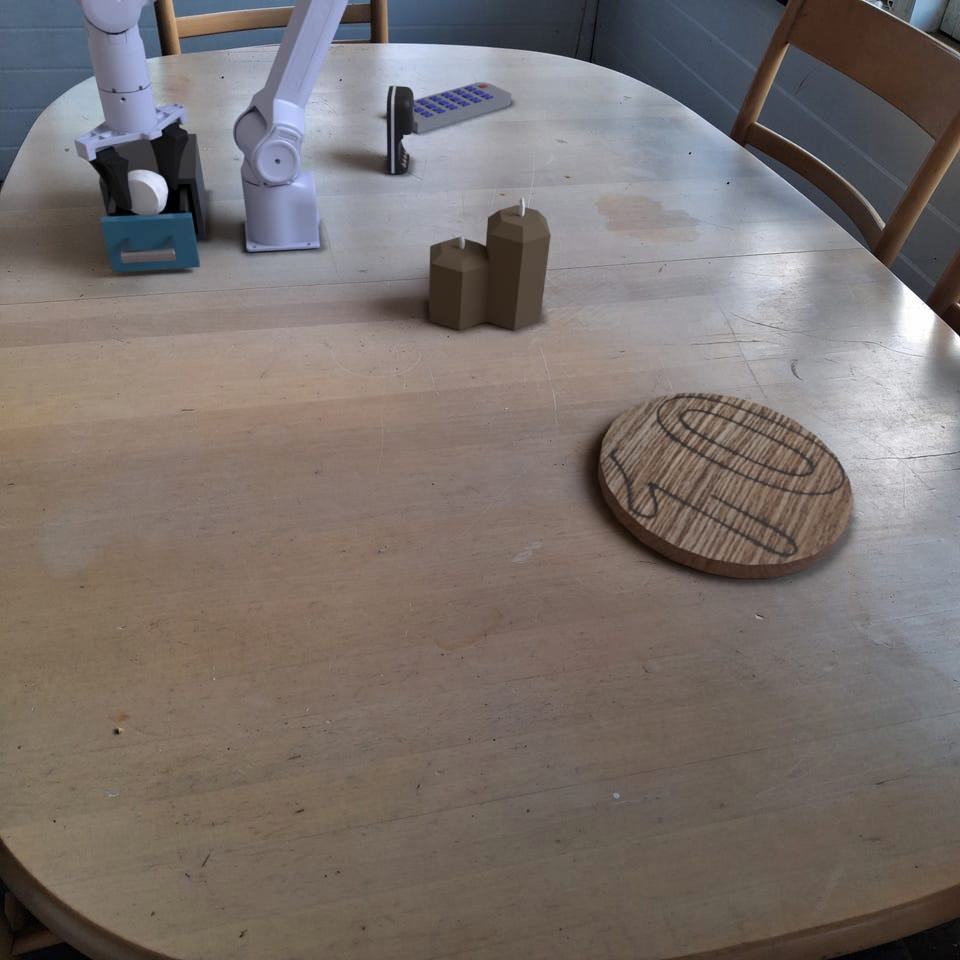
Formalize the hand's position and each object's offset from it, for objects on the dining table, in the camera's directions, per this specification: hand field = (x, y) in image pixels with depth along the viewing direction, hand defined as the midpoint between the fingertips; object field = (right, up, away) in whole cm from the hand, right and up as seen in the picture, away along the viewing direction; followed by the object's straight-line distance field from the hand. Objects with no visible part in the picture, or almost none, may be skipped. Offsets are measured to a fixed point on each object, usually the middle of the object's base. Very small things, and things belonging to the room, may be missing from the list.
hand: (147, 197), depth 111 cm
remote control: (+36, +29, +45) cm, 65 cm away
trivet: (+65, -35, -19) cm, 77 cm away
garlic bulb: (0, -1, +1) cm, 2 cm away
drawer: (0, -6, +4) cm, 7 cm away
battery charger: (+29, +14, +29) cm, 43 cm away
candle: (+42, -13, +2) cm, 44 cm away
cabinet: (-3, +1, +13) cm, 13 cm away
